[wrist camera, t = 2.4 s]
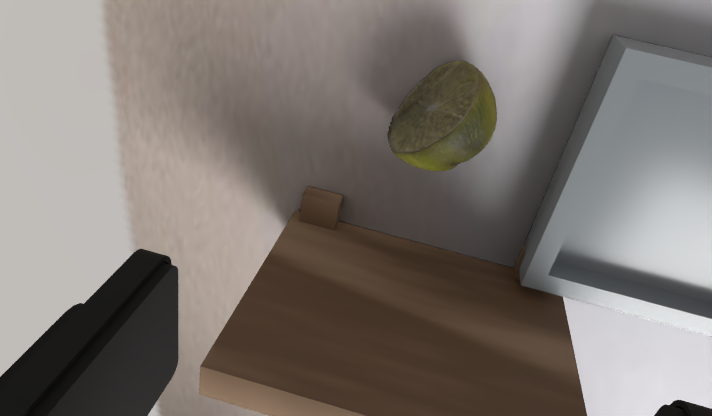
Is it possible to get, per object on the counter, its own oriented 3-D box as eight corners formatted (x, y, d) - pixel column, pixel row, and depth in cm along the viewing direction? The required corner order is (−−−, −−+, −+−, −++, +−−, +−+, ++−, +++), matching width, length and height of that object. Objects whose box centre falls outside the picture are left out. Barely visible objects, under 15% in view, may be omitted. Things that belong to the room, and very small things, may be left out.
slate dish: (745, 318, 28) (766, 351, 26) (518, 258, 29) (520, 285, 27) (910, 102, 22) (955, 123, 20) (613, 35, 23) (626, 48, 20)
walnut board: (537, 324, 31) (565, 534, 20) (289, 255, 32) (198, 421, 22) (571, 255, 28) (622, 457, 18) (299, 183, 29) (201, 333, 19)
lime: (388, 133, 27) (371, 176, 23) (415, 37, 24) (401, 65, 20) (474, 158, 27) (473, 206, 22) (510, 64, 24) (516, 98, 20)
